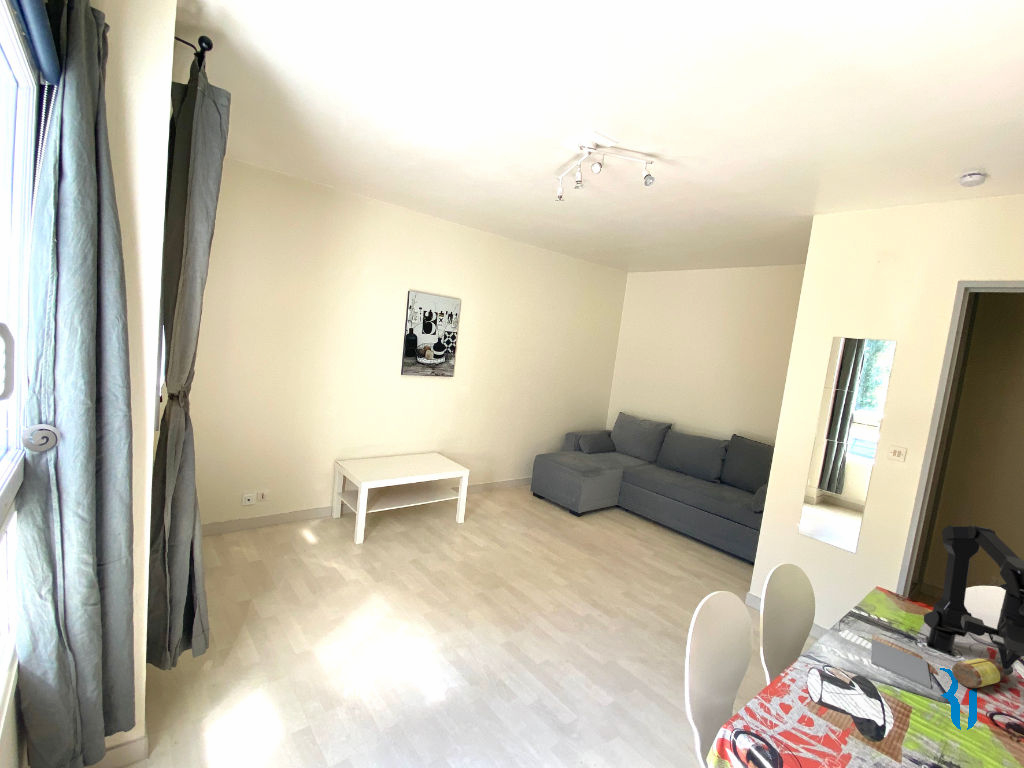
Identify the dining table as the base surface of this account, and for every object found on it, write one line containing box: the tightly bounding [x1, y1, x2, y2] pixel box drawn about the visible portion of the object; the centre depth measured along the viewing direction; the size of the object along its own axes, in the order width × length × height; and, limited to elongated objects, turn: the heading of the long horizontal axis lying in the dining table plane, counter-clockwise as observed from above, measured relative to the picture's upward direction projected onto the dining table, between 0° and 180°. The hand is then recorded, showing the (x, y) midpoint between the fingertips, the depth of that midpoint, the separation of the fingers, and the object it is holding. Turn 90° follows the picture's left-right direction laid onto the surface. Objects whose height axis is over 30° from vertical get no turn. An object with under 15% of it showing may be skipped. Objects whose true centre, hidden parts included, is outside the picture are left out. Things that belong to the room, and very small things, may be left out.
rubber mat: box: [870, 638, 932, 690], centre depth 134 cm, size 15×13×1 cm
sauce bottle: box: [951, 657, 1014, 689], centre depth 130 cm, size 7×6×20 cm
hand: (1004, 668), depth 121 cm, fingers closed
